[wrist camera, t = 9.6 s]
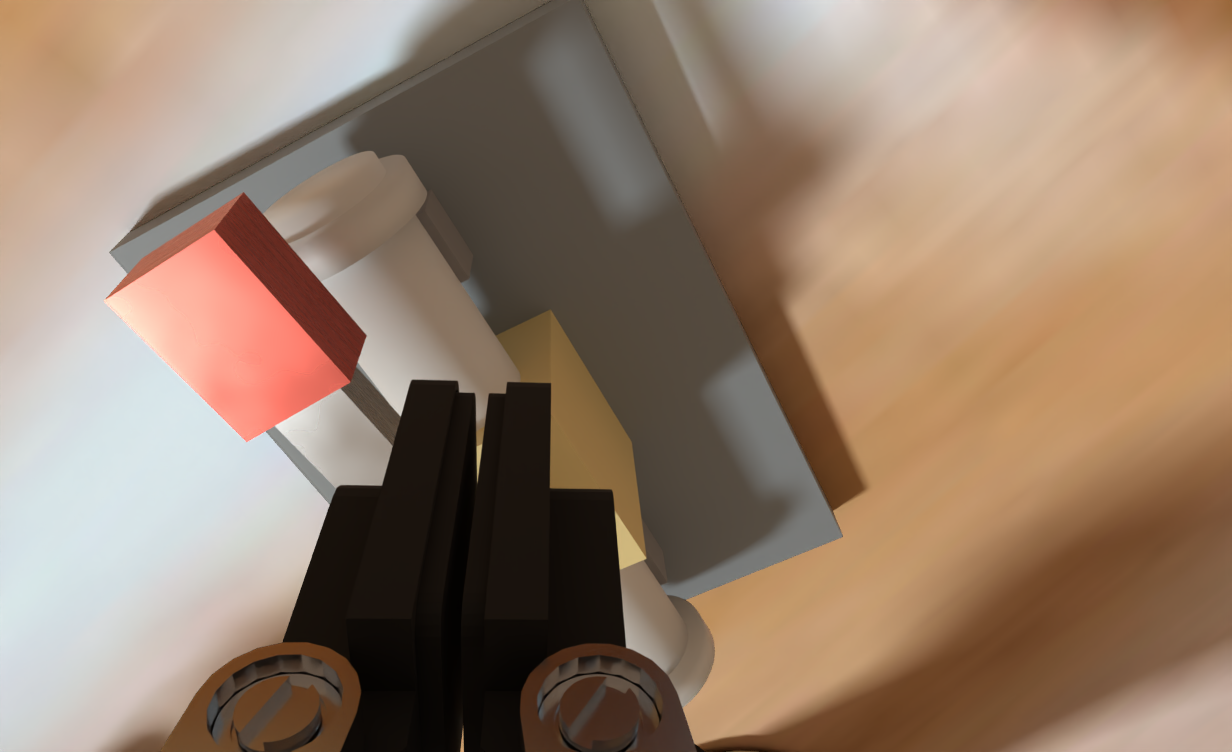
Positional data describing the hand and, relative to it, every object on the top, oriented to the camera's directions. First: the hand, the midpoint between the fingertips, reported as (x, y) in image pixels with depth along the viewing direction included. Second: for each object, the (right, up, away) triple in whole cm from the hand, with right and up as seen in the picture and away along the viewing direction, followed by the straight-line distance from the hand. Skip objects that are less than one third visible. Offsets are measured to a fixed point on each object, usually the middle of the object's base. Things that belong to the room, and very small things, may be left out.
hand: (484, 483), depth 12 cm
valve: (-2, +1, +22) cm, 22 cm away
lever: (-4, 0, +11) cm, 12 cm away
